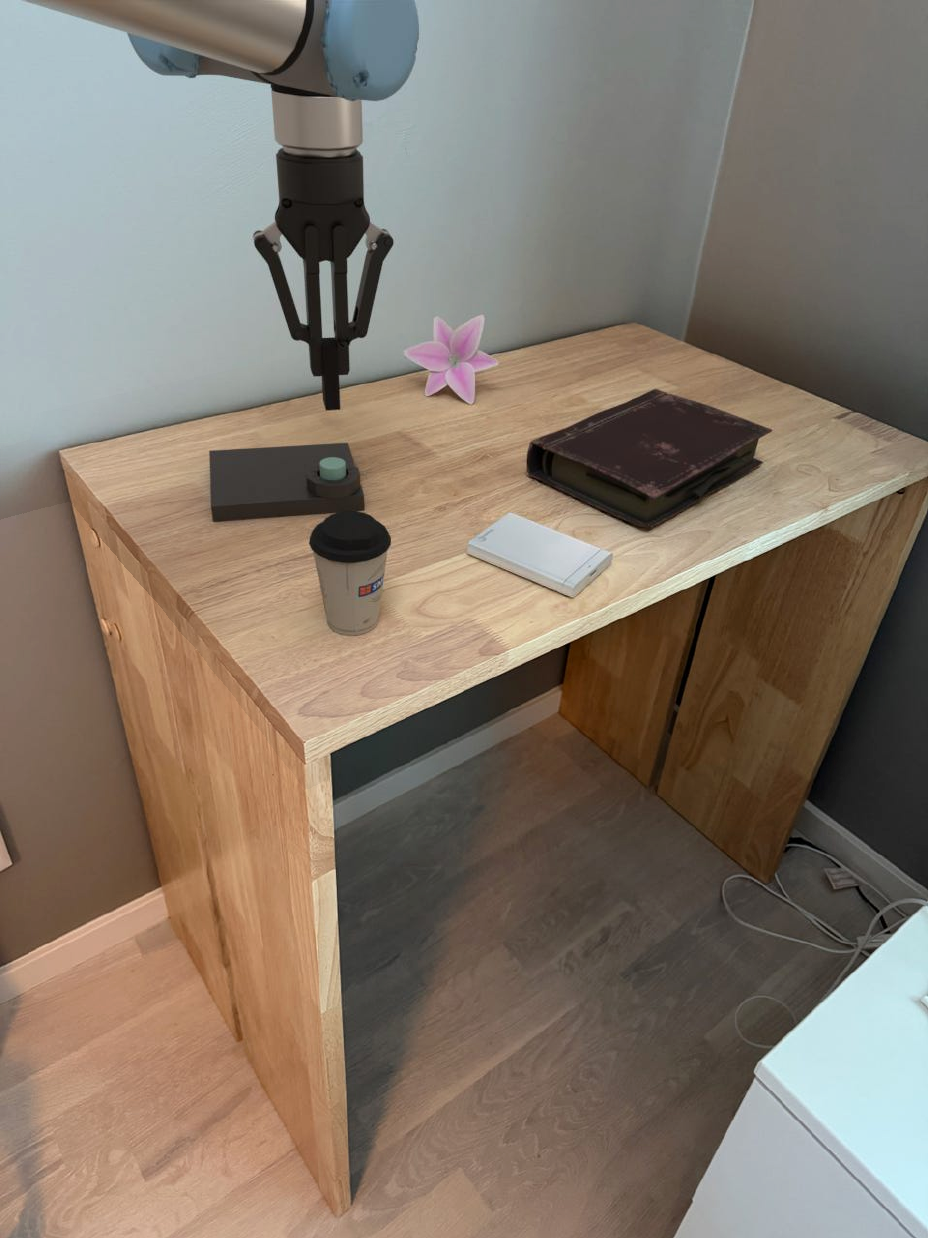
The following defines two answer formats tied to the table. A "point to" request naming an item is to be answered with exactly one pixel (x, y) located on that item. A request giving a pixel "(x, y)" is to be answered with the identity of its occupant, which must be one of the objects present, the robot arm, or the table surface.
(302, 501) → the scale
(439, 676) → the table surface
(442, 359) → the lily
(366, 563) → the coffee cup
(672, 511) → the diary
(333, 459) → the button
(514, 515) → the hard drive
